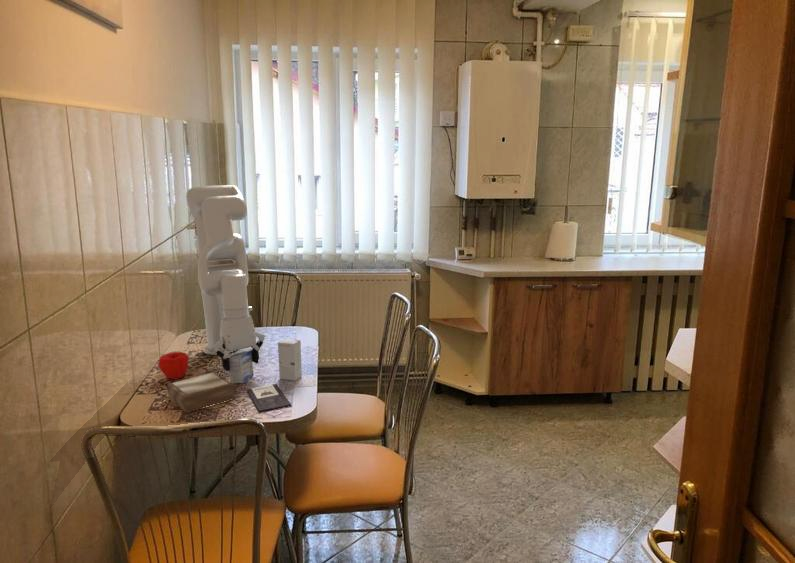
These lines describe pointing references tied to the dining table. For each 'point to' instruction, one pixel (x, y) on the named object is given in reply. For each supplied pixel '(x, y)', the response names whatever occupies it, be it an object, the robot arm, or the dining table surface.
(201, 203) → the robot arm
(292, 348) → the skincare box
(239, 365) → the medicine box
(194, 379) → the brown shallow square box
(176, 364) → the apple
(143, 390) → the dining table surface
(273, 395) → the chocolate bar
